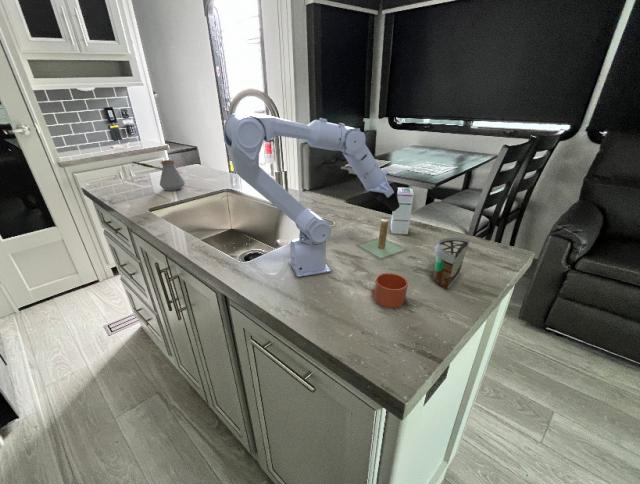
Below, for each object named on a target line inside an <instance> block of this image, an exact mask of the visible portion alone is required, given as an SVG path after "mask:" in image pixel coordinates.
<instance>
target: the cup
mask: <svg viewBox="0 0 640 484" xmlns="http://www.w3.org/2000/svg"><path fill="white" fill-rule="evenodd" d="M408 286H409V282H408V279H406V278H405V277H404V276H402V275H400V274H398V273H391V272H388V273H387V272H385V273H381V274H378V276H376V278H375V283H374V291H373V300H374V302H375V303H376V304H377V305H379V306H380V307H384V308H387V309H388V308H389V309H396V308H400V307H402V306H403V305H405V302H406V296H407V291H408Z"/></svg>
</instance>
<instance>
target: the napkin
mask: <svg viewBox="0 0 640 484" xmlns="http://www.w3.org/2000/svg"><path fill="white" fill-rule="evenodd" d="M378 241H379V238H378V239H375V240H371V241H368V242H364V243H361V244H358V247H360V248H362V249H364V250H365V251H367V252H368V253H371V254H372V255H374V256H375V257H377V258H379V259H383V258H385V257H389V256H391V255H394V254H397V253H400V252H403V251H405V249H404V248H402V247H400V246H398V245H396V244H394V243H393V242H390V241H389V240H387V239H386V244H385V248H384V249H379V248H378Z"/></svg>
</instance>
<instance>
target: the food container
mask: <svg viewBox="0 0 640 484" xmlns="http://www.w3.org/2000/svg"><path fill="white" fill-rule="evenodd" d="M469 244H470V238H465V237H457V236H451V237H450V236H449V237H445V238H442V239H440V240H439V241H438V242H437V244H436V246H435V247H434V251H433V252H434V254H435V255H436V256H435V262H434V263H435V264H434V270H433V281H434V284H436V285H438V286H439V287H441V288H443V289H444V290H445V289H446V290H449V288H450V287H451V285H452V284H453V283H454V282H455V280H456V279H457V278H458V276H459V275H460V273H461V270H462V266H463V263H464V260H465V256H466V253H467V249H468V247H469Z"/></svg>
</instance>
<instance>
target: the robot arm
mask: <svg viewBox="0 0 640 484" xmlns="http://www.w3.org/2000/svg"><path fill="white" fill-rule="evenodd" d="M275 137H284V138H290V139H298V140H304V141H306V142H307V144H308V146H309V147H310V148H314V149H315V148H316V149H322V150H326V151H327V150H328V151H334V152H336V151H337V152H339V151H340V152H342V155H343V156H344V158H345V160H346V161H347V163H348V165H349V166H350V167H351V169H352V170H353V172H354V173H355V174H356V176H357V178H358V179H359V181H360V183H361V184H360V187H361V188H362V189H363V190H365V191H367V192H369V193H370V194H372V196H373V197H374V198H375V199H376V200H377V201H378V202H380V203H382V204H384V205H386V207H387V208H389V210H391V211H392V212H393V211H395V210H396V209H398V208H399V207H400V206H399V202H398V197H397V192H398V188H399V187H398V186H397V185H396V184H392V185H391V186H390V184H389V181H388V178H387V175H388V174H389V171H388V170H387V169H385V168H383V169H381V167H380V165H379V164H378V162H377V160H376V159H375V157H374V155H373V154H372V152H371V151H370V149H369V146H367V145H366V141H367V140H366V139H367V137H366V134H365V132H364V131H363V132H362V131H361V129H359V128H356V127H352V126H347V125H346V124H345V123H343V122H338V124H337V123H333V122H328V119H327V118H323V117H319V119H314V120H312V121H311V122H310V123H308V124H305V123H302V122H297V121H294V120H293V121H292V120H289V119H285V118H281V117H280V118H279V117H276V116H271V115H267V114H266V115H264V114H247V115H245V114H243V113H238V112H237V113H232V114H230V115H229V116H228V117H227V118H226V119H225V122H224V125H223V142H224V144H225V146H226V149H227V151H228V154H229V158H230V160H231V163H232V167H233V170H234V172H235V174H237V175H238V177H240V178H241V179H242V180H243V181H244V182H245V183H247V184H248V185H249V186H250V187H252V188H253V189H254V190H255V191H256V192H257V193H258V194H260V195H261V196H263V197H264V198H265V199H266V200H267V201H268V202H269V203H271V204H272V205H273V206H274V207H276V208H277V209H278V210H279V211H281V212H282V213H283V214H284V216H285V215H286V216H287V217H288V218H289V219H290V220H291V221H292V222H294V223H295V226H296V228H297V230H299V235H298V237H297V238H295V239H293V240H290V242H289V243H290V245H289V249H290V262H289V264H290V266H291V268H292V270H293V272H294V274H295V276H296V277H297V278H300V277H306V276H314V275H319V274H326V273H330V272H331V268H330V267H329V266H328V264H327V263H326V262H327V260H326V259H327V257H326V256H327V240H329V238H330V237H331V234H332V226H331V224H330V223H329V222H328V221H327V220H325V219H324V218H323V217H321V216H320V215H318V214H317V213H316V212H315V211H314V210H312V209H309V208H306V206H304V205H303V204H302V203H301V202H300V201H299V200H297V199H296V198H295V197H294V196H293V195H292V194H291V193H290V192H288V190H286V189H285V188H284V187H283V186H282V185H281V184H279V183H278V182H277V181H276V180H275V179H274V178H273V177H272V176H271V175H269V174H268V173H267V172H266V171H265V170H264V169H263V168H262V167H261V166H260V153H261V150H262V147H263V144H264V141H265V142H270V141H271V140H272V139H274V138H275Z"/></svg>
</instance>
